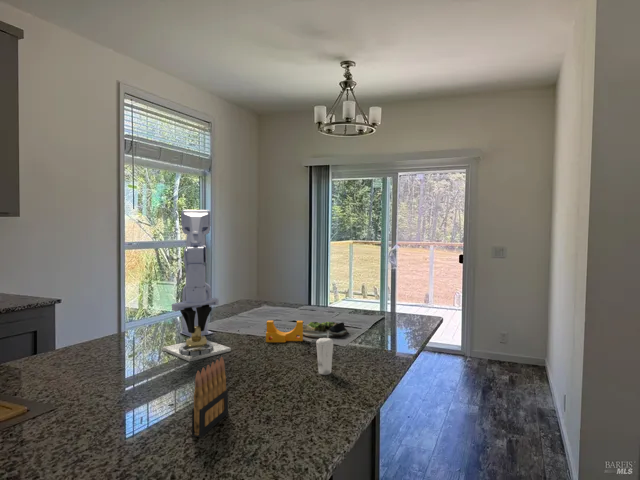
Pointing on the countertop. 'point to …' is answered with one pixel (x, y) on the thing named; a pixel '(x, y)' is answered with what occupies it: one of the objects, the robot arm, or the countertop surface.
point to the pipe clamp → (283, 333)
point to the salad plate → (324, 329)
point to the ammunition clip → (209, 398)
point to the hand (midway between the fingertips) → (196, 331)
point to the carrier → (196, 350)
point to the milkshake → (324, 354)
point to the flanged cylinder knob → (196, 339)
